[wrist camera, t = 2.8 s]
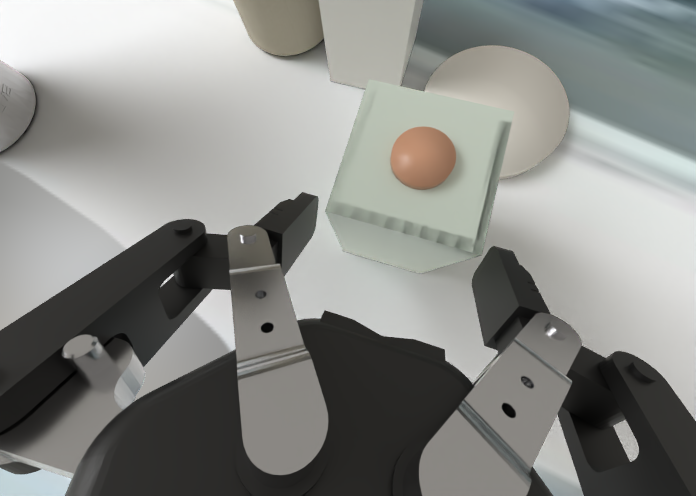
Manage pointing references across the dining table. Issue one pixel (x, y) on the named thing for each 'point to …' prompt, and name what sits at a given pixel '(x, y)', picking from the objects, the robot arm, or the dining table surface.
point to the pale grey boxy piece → (418, 178)
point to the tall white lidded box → (369, 39)
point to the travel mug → (282, 24)
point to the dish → (510, 99)
